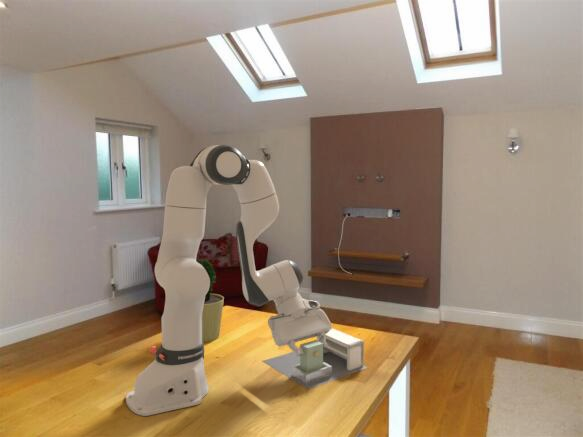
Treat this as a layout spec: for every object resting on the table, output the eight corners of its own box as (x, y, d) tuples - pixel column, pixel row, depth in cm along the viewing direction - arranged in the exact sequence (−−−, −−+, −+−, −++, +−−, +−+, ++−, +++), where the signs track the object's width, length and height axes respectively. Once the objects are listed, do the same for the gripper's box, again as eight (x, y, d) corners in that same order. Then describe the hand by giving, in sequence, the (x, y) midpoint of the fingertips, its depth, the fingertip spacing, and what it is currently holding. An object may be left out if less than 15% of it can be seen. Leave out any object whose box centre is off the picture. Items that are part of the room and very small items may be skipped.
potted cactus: (175, 341, 169) (173, 261, 166) (195, 328, 184) (194, 254, 180) (213, 346, 164) (211, 264, 161) (231, 332, 179) (230, 256, 176)
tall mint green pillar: (309, 382, 134) (309, 349, 133) (300, 376, 138) (300, 344, 137) (325, 376, 138) (325, 344, 137) (315, 371, 142) (315, 340, 141)
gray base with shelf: (308, 393, 130) (308, 362, 129) (262, 364, 149) (261, 337, 148) (367, 371, 144) (368, 343, 144) (318, 347, 164) (318, 322, 163)
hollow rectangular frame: (305, 385, 133) (305, 375, 132) (291, 376, 138) (291, 366, 138) (331, 375, 139) (332, 366, 138) (316, 367, 144) (316, 358, 144)
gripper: (269, 312, 136) (289, 354, 129) (322, 300, 148) (343, 339, 141) (261, 323, 140) (280, 364, 133) (313, 310, 152) (333, 348, 145)
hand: (313, 351), depth 137 cm, fingers open, 8 cm apart
